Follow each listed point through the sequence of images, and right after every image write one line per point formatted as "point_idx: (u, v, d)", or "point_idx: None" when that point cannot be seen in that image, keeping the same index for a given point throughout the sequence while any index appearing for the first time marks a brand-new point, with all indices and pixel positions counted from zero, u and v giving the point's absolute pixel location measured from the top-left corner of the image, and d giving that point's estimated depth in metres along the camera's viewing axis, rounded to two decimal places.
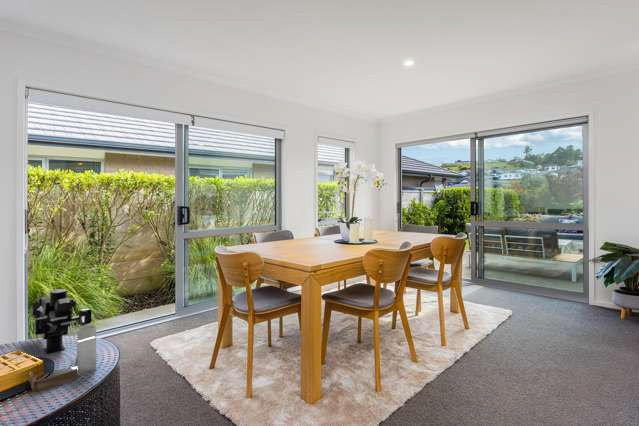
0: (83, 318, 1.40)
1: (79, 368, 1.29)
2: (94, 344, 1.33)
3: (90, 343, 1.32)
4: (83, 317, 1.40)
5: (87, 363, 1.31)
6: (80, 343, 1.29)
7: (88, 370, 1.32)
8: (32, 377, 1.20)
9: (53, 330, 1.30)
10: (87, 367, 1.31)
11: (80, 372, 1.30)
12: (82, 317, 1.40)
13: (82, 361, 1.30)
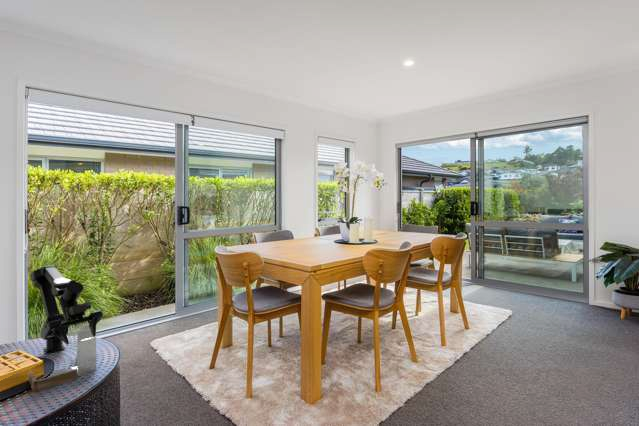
0: (95, 327, 1.39)
1: (79, 368, 1.29)
2: (94, 344, 1.33)
3: (90, 343, 1.32)
4: (95, 325, 1.40)
5: (87, 363, 1.31)
6: (80, 343, 1.29)
7: (88, 370, 1.32)
8: (32, 377, 1.20)
9: (65, 342, 1.30)
10: (87, 367, 1.31)
11: (80, 372, 1.30)
12: (94, 325, 1.39)
13: (82, 361, 1.30)
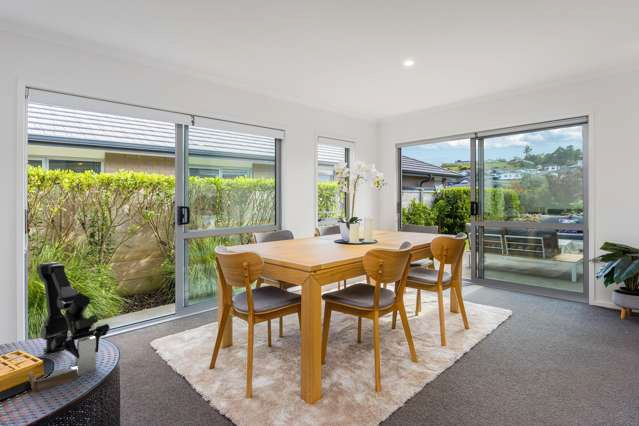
0: (97, 342, 1.35)
1: (79, 368, 1.29)
2: (94, 344, 1.33)
3: (90, 343, 1.32)
4: (97, 340, 1.35)
5: (87, 363, 1.31)
6: (80, 343, 1.29)
7: (88, 370, 1.32)
8: (32, 377, 1.20)
9: (76, 356, 1.28)
10: (87, 367, 1.31)
11: (80, 372, 1.29)
12: (96, 340, 1.35)
13: (82, 361, 1.30)
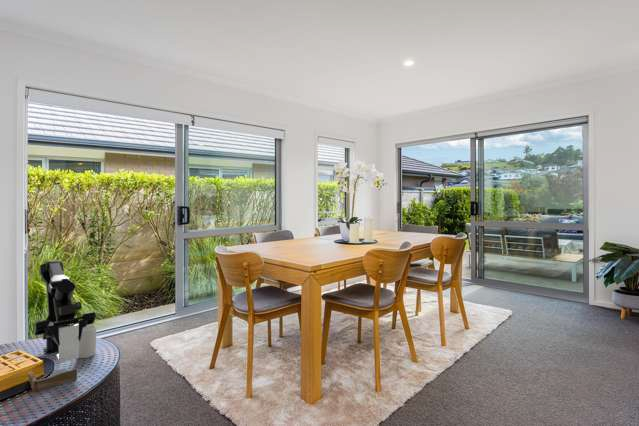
0: (81, 330, 1.31)
1: (60, 355, 1.26)
2: (77, 332, 1.29)
3: (73, 331, 1.28)
4: (81, 328, 1.31)
5: (69, 351, 1.28)
6: (61, 330, 1.26)
7: (70, 358, 1.28)
8: (32, 377, 1.20)
9: (57, 343, 1.25)
10: (69, 355, 1.28)
11: (61, 360, 1.26)
12: (80, 328, 1.31)
13: (63, 348, 1.26)
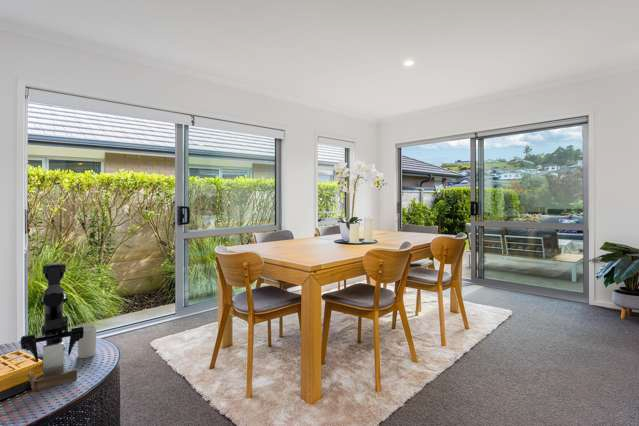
0: (71, 345, 1.29)
1: (44, 374, 1.23)
2: (62, 351, 1.26)
3: (57, 350, 1.26)
4: (72, 342, 1.29)
5: (53, 370, 1.25)
6: (45, 348, 1.23)
7: None
8: (32, 377, 1.20)
9: None
10: (53, 374, 1.25)
11: None
12: (71, 342, 1.29)
13: (47, 367, 1.24)
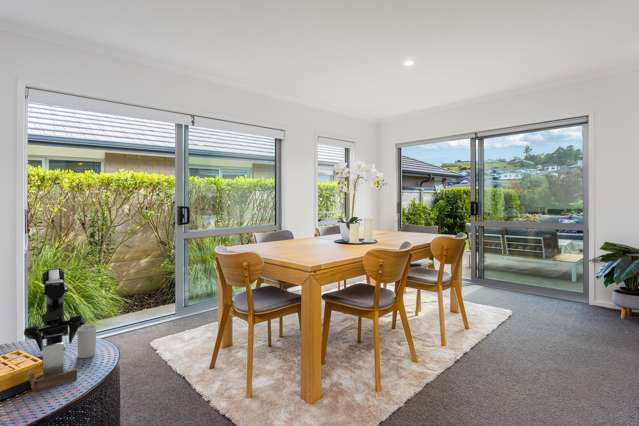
0: (71, 333, 1.35)
1: (44, 374, 1.23)
2: (62, 351, 1.26)
3: (57, 350, 1.26)
4: (71, 331, 1.36)
5: (53, 370, 1.25)
6: (45, 348, 1.23)
7: None
8: (32, 377, 1.20)
9: (40, 349, 1.31)
10: (53, 374, 1.25)
11: None
12: (70, 331, 1.36)
13: (47, 367, 1.24)
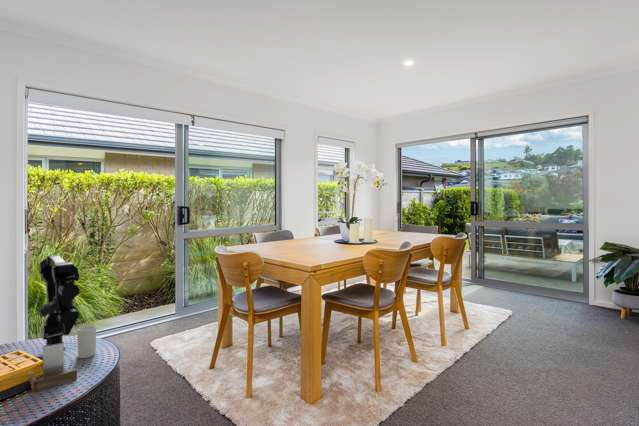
0: (64, 327, 1.34)
1: (44, 374, 1.23)
2: (62, 351, 1.26)
3: (57, 350, 1.26)
4: (63, 325, 1.34)
5: (53, 370, 1.25)
6: (45, 348, 1.23)
7: None
8: (32, 377, 1.20)
9: None
10: (53, 374, 1.25)
11: None
12: (63, 325, 1.34)
13: (47, 367, 1.24)
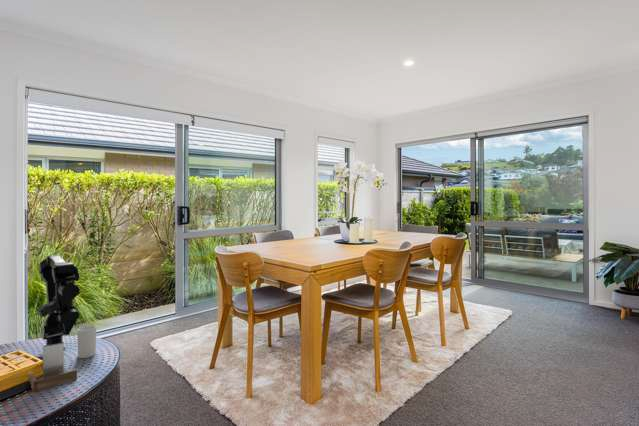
0: (64, 327, 1.34)
1: (44, 374, 1.23)
2: (62, 351, 1.26)
3: (57, 350, 1.26)
4: (63, 326, 1.34)
5: (53, 370, 1.25)
6: (45, 348, 1.23)
7: None
8: (32, 377, 1.20)
9: None
10: (53, 374, 1.25)
11: None
12: (63, 325, 1.34)
13: (47, 367, 1.24)
